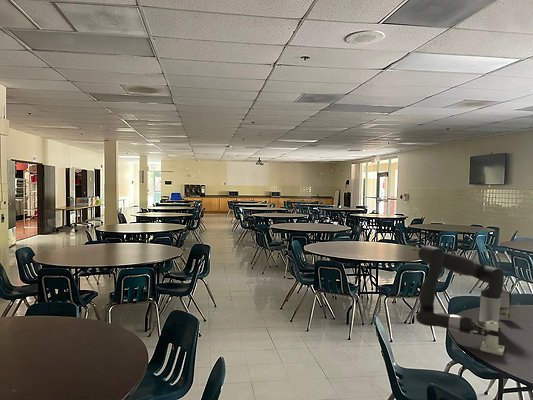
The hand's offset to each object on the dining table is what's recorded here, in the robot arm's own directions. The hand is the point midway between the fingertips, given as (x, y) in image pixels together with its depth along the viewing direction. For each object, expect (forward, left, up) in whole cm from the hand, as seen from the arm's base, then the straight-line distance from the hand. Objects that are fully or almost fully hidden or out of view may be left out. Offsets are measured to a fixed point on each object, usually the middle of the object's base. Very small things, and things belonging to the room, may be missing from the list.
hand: (499, 332), depth 185 cm
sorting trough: (0, -2, -9) cm, 9 cm away
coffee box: (-58, -3, -9) cm, 59 cm away
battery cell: (0, -3, -8) cm, 9 cm away
